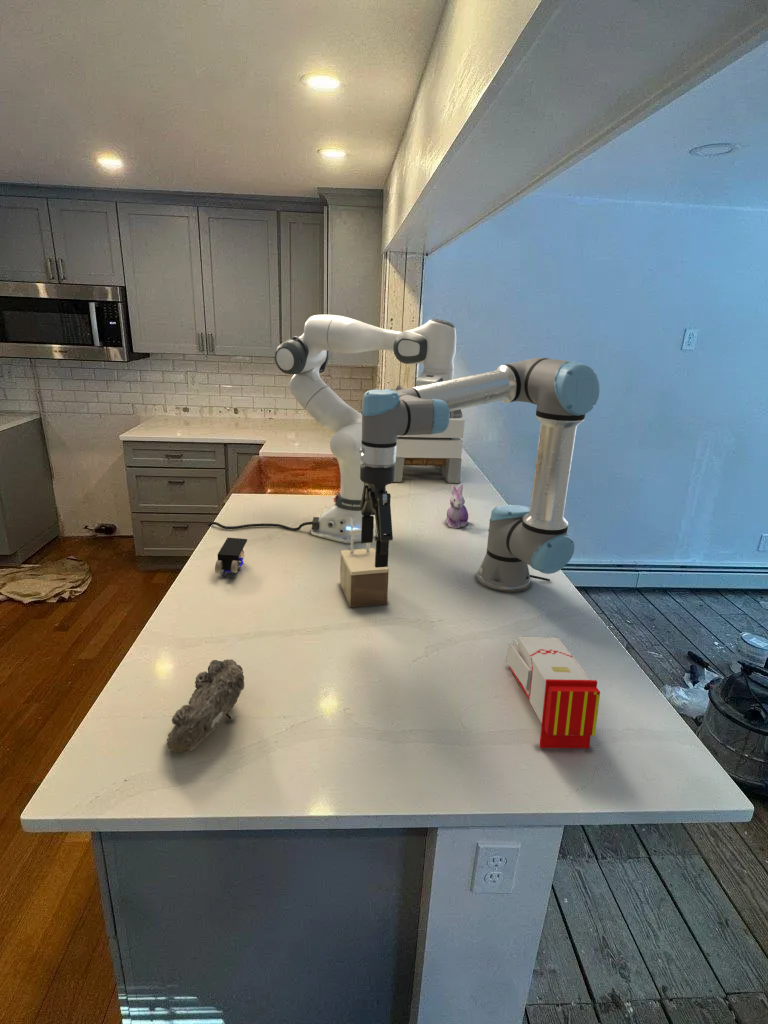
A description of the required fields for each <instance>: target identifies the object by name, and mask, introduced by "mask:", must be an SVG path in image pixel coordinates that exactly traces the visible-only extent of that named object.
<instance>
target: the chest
mask: <svg viewBox="0 0 768 1024" xmlns="http://www.w3.org/2000/svg"><path fill="white" fill-rule="evenodd" d="M339 572H340V573H339V575H340V576H339V585H340V587H341V589H342V592H343V595H344V596H345V599H346V601H347V603H348V605H349V607H350V608H358V607H368V606H369V607H370V606H377V605H379V606H380V605H388V593H389V592H388V591H389V574H390V573H389V572H386V573H374V574H363V575H351V574H350V572H349V570H348V568H347V566H346V564H345V562H344V560H343V558H342V556H341V555H340V569H339Z"/></svg>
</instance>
